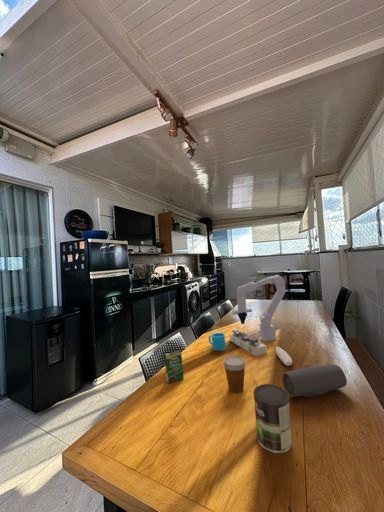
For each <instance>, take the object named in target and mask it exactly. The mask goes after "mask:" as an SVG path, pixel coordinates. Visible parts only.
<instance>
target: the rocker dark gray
mask: <svg viewBox="0 0 384 512" xmlns="http://www.w3.org/2000/svg"><path fill="white" fill-rule="evenodd" d="M240 336H241V337H242V338H243V339H244V340H245V341H246V340H249V337H250V336H248V334H246V332H245V331H244V332H241V333H240Z"/></svg>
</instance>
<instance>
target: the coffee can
mask: <svg viewBox="0 0 384 512" xmlns="http://www.w3.org/2000/svg"><path fill="white" fill-rule="evenodd" d="M252 393H253V398H254V399H253V400H254V412H255V414H254V415H255V429H256V440H257V443H258V444H259V445H260V446H261V447H262V448H263V449H265V450H266V451H267V452H270V453H272V454H283V453H284V454H285V453H287V452H288V451H290V449H291V448H292V445H293V444H292V443H293V442H292V434H291V420H290V419H291V417H290V402H289V400H290V395H289V394H288V393H287V392H286V390H285V388H284V387H283V388H282V387H280V386H278V385H275V384H270V383H268V384H267V383H266V384H265V383H264V384H259V385H257V386H256V387H254V389H253V391H252Z"/></svg>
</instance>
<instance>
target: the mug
mask: <svg viewBox="0 0 384 512" xmlns="http://www.w3.org/2000/svg"><path fill="white" fill-rule="evenodd" d="M208 342H209V345H211V347H212V349H213V350H214V351H218V350H219V351H218V352H220V350H221V351H224V350H226V336H225V333H222V332H215V333H212V334H211V335H209V337H208Z"/></svg>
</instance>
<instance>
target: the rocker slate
mask: <svg viewBox="0 0 384 512" xmlns="http://www.w3.org/2000/svg"><path fill="white" fill-rule="evenodd" d="M248 342H250V343H257V342H260V341H259V339H257V338H252V339H249V340H248Z"/></svg>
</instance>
